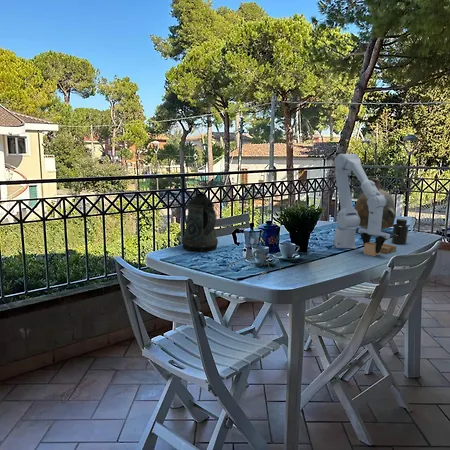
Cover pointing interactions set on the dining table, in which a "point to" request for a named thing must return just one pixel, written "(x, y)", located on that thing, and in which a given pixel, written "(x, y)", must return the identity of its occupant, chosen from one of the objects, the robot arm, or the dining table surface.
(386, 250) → the walnut base
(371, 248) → the terracotta cube
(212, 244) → the beer stein
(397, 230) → the supplement bottle
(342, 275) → the dining table surface
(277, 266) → the eyeglasses
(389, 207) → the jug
